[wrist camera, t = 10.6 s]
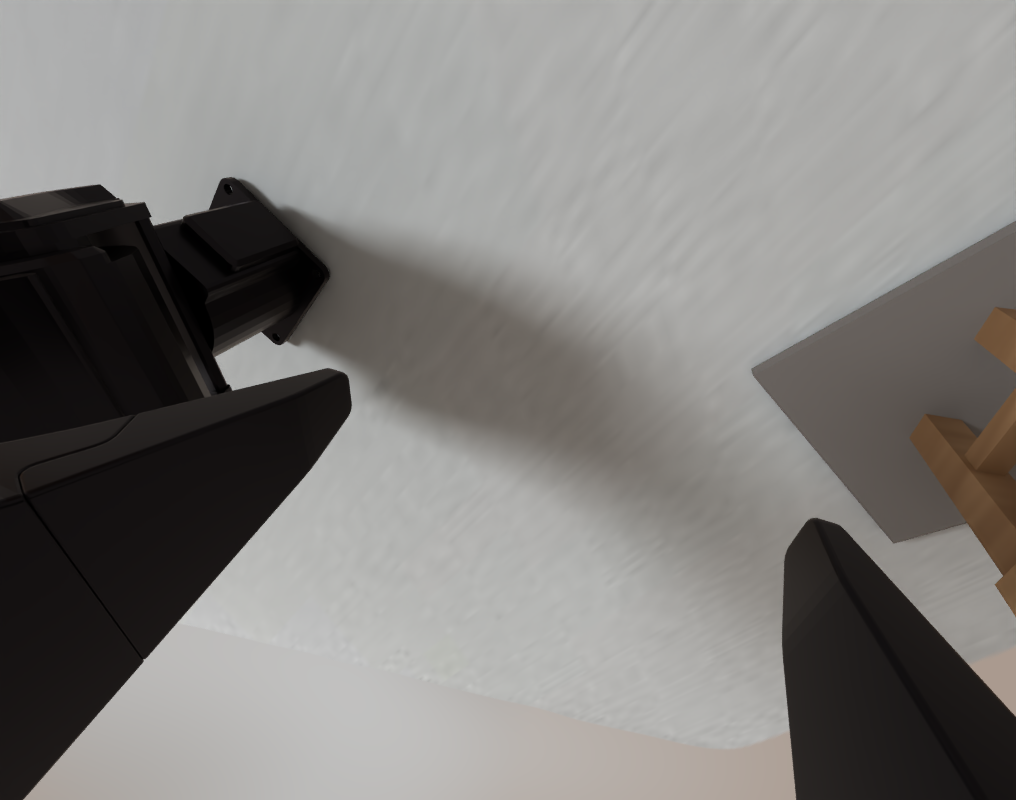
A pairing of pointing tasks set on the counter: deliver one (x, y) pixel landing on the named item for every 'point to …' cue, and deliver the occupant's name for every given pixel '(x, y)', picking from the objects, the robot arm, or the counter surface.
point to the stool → (982, 461)
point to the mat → (902, 383)
